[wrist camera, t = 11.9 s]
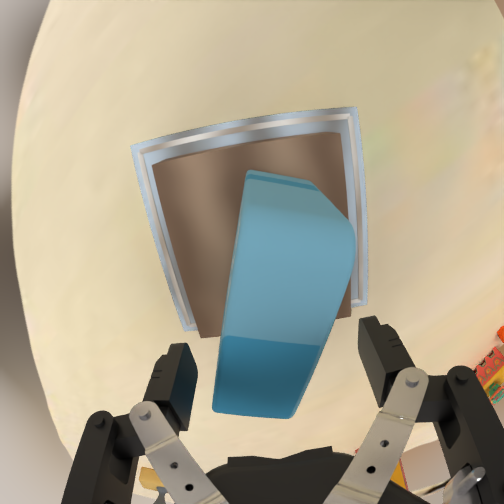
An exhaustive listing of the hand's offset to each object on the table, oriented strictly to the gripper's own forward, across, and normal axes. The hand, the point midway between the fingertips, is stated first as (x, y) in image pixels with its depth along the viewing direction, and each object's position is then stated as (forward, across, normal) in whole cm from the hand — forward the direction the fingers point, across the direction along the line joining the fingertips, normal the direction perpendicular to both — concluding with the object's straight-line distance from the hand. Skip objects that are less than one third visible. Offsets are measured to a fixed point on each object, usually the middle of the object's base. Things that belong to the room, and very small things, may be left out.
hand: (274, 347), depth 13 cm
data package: (+12, 0, 0) cm, 12 cm away
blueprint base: (+16, 0, 0) cm, 16 cm away
